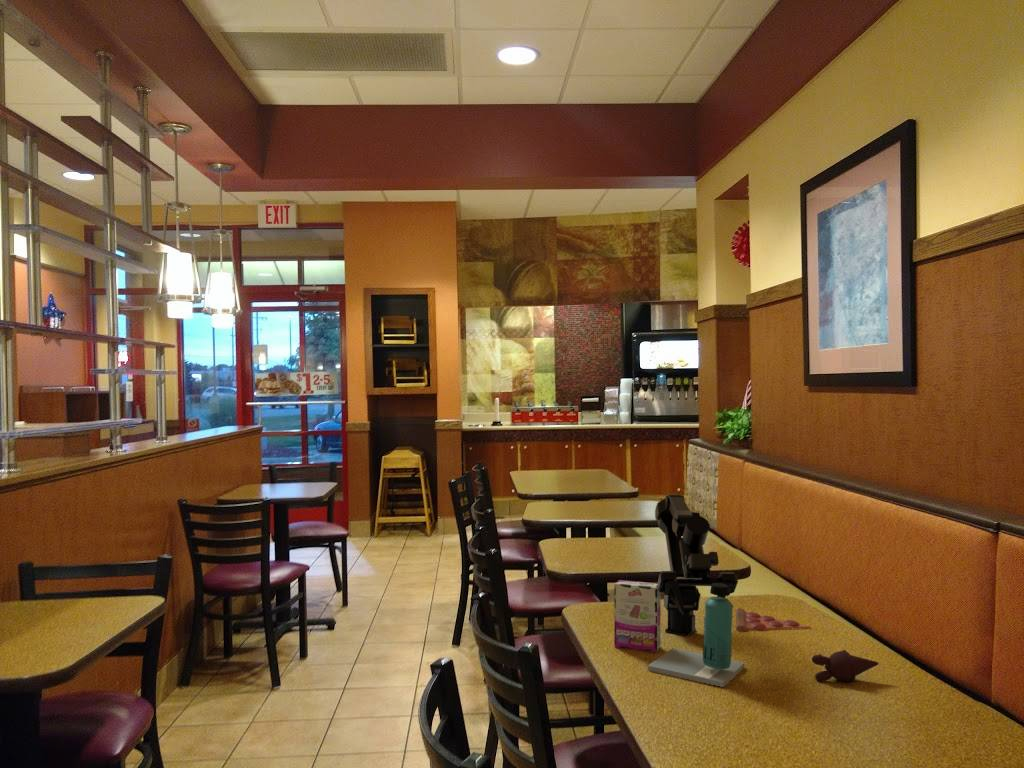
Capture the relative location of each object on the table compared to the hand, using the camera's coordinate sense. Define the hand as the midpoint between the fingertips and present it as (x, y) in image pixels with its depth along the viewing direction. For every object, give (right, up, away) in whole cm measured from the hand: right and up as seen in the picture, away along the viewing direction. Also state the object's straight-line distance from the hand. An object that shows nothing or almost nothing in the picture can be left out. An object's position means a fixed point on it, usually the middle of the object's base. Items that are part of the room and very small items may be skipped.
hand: (702, 613), depth 184 cm
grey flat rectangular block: (-2, -12, -2) cm, 13 cm away
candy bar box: (-13, -13, +13) cm, 22 cm away
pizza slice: (+28, -14, +33) cm, 45 cm away
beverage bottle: (+1, -11, -7) cm, 13 cm away
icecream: (+31, -13, -8) cm, 34 cm away
